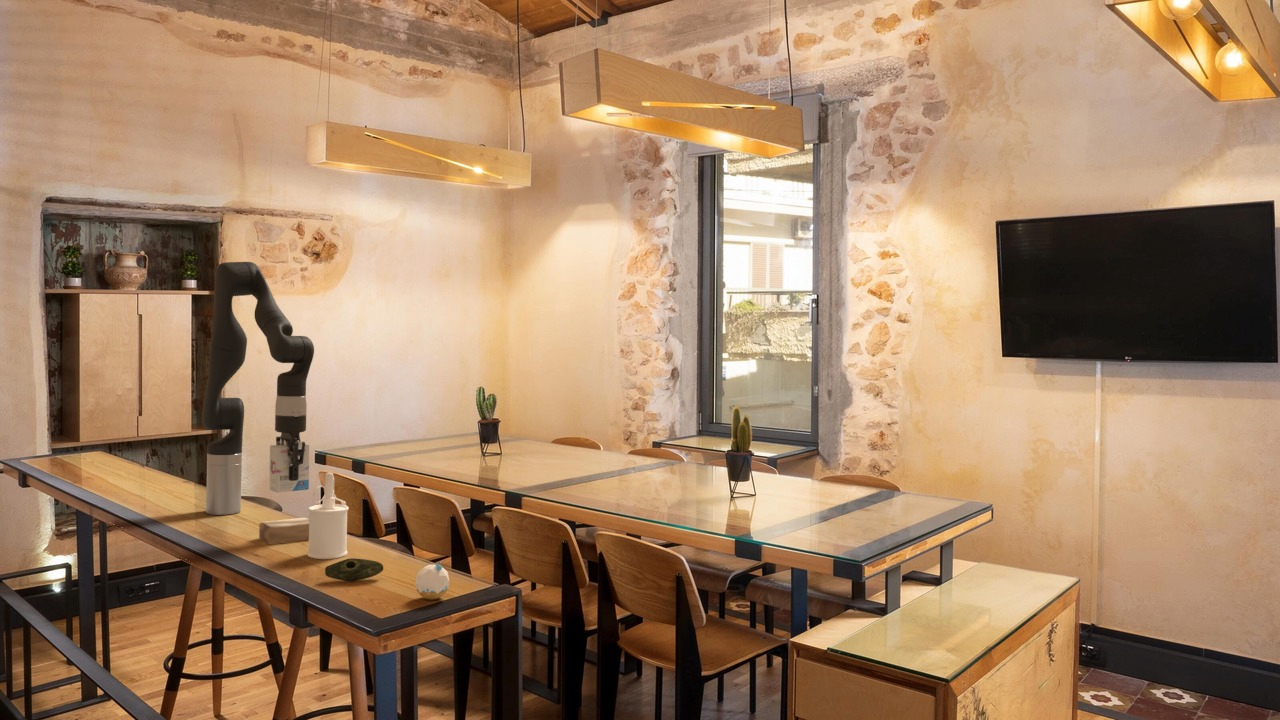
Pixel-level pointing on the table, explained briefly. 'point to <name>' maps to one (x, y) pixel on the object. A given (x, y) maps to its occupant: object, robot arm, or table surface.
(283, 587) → the table surface
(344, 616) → the table surface
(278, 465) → the ink box
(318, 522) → the white canister grenade
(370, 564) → the decorative stone
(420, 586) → the ornament
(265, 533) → the open box
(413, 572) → the table surface
